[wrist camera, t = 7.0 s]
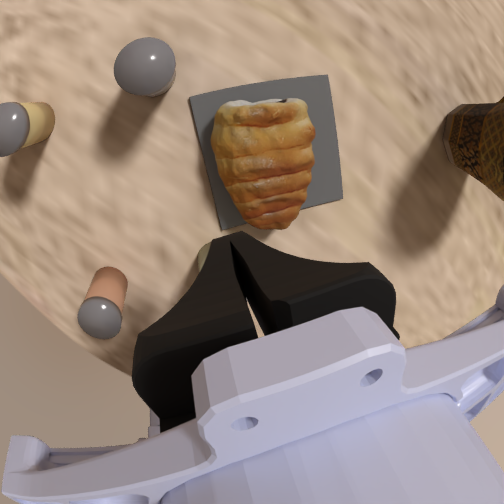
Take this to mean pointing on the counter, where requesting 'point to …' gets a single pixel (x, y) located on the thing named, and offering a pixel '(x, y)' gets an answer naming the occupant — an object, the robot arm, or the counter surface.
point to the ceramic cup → (478, 142)
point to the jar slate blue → (145, 67)
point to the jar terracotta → (104, 304)
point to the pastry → (265, 158)
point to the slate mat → (323, 145)
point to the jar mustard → (24, 125)
